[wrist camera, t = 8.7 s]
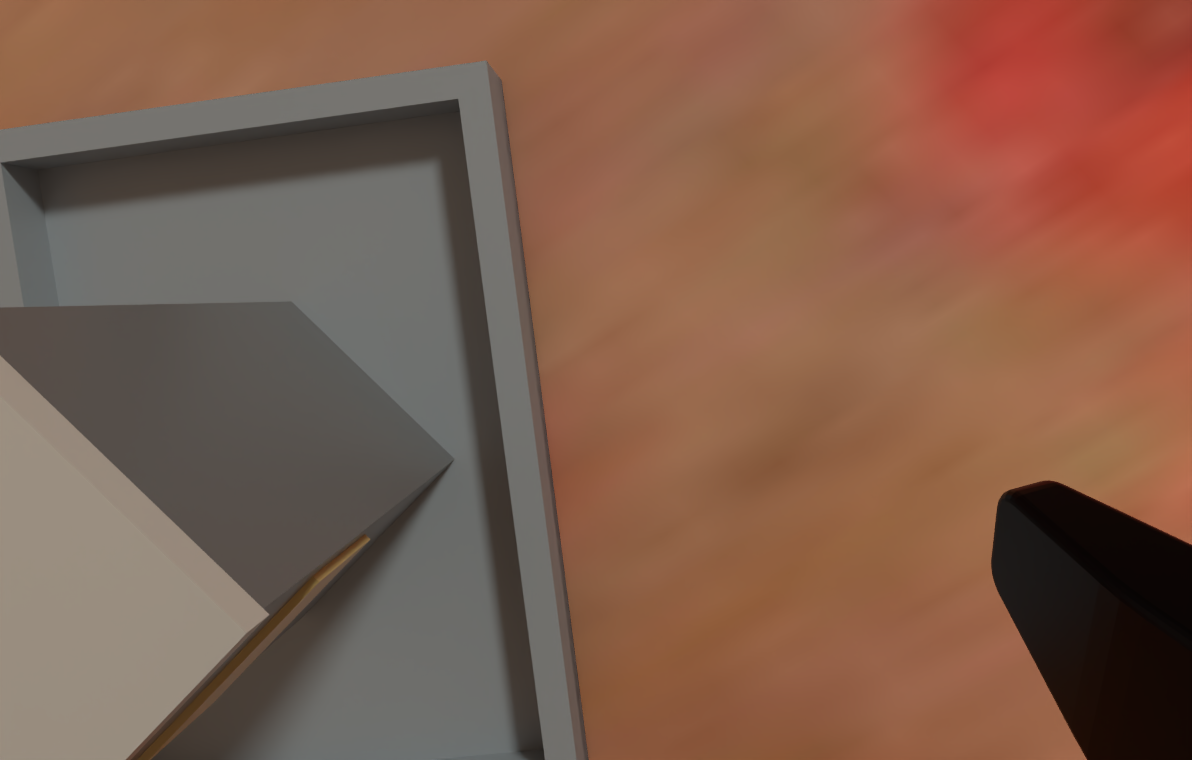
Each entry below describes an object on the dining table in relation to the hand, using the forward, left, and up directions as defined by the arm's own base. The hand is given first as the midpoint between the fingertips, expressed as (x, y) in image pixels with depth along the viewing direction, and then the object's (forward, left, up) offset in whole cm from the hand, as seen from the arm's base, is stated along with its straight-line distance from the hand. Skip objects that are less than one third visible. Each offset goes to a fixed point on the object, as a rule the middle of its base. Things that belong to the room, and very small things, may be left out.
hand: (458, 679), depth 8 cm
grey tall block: (0, +6, -13) cm, 14 cm away
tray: (0, +6, -14) cm, 15 cm away
